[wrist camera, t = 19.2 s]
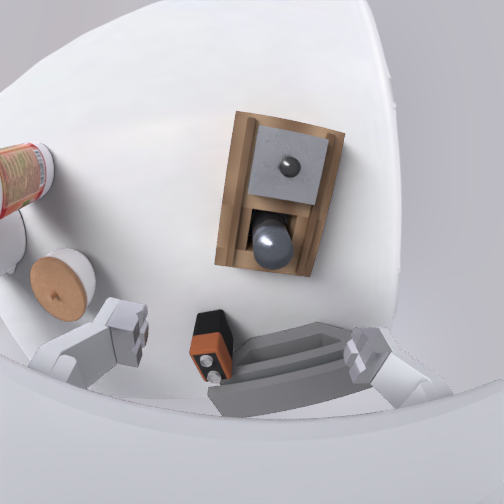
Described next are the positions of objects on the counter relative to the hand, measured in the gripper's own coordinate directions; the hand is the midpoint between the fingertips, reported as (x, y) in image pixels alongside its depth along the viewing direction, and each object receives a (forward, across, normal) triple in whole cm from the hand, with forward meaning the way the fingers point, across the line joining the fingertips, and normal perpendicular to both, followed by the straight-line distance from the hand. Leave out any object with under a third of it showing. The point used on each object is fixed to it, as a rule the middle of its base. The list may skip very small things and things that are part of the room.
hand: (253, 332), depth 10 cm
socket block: (+27, -4, 0) cm, 27 cm away
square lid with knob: (+22, -4, -4) cm, 22 cm away
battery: (+27, +1, +23) cm, 36 cm away
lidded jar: (+28, +25, +16) cm, 41 cm away
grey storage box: (+27, -12, +26) cm, 39 cm away
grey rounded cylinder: (+27, -4, +4) cm, 27 cm away
